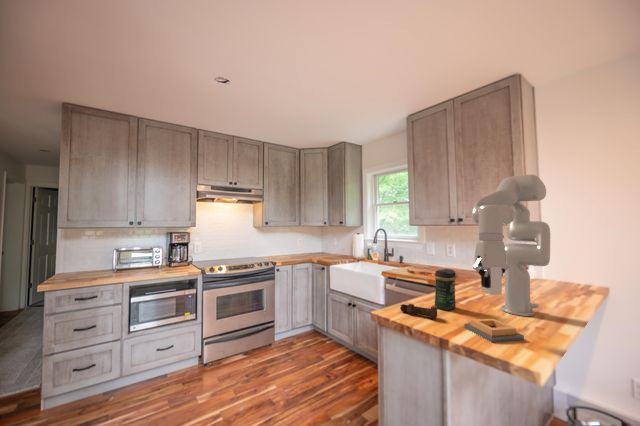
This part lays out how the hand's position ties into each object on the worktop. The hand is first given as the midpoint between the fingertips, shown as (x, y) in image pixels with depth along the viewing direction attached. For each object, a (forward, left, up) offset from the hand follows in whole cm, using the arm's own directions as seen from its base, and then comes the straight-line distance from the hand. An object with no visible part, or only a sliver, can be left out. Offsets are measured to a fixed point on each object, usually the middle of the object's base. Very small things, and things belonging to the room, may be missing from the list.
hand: (491, 286), depth 99 cm
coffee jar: (-2, -30, -17) cm, 34 cm away
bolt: (+17, -22, -18) cm, 33 cm away
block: (0, 0, -2) cm, 2 cm away
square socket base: (0, 0, -17) cm, 17 cm away
